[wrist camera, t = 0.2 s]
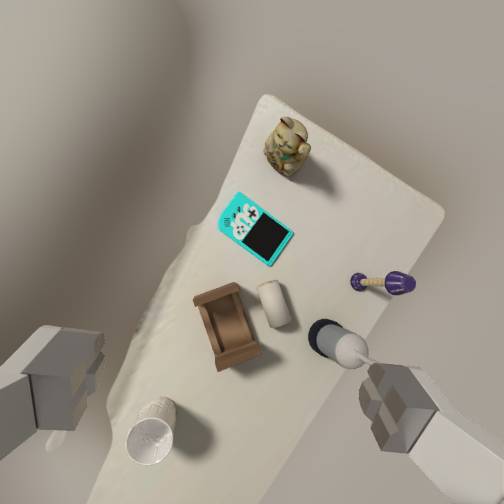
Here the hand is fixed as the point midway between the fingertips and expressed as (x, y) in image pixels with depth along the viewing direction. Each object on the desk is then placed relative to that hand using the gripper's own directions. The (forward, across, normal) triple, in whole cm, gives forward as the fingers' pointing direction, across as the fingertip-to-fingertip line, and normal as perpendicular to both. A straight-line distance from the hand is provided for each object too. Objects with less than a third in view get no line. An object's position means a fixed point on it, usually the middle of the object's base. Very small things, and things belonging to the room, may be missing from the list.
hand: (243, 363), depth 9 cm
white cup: (+34, -7, -50) cm, 61 cm away
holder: (+44, +3, -32) cm, 54 cm away
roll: (+47, +13, -27) cm, 56 cm away
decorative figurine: (+63, +11, +2) cm, 64 cm away
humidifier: (+44, +27, -33) cm, 61 cm away
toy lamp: (+50, +34, -21) cm, 64 cm away
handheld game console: (+55, +7, -14) cm, 57 cm away
